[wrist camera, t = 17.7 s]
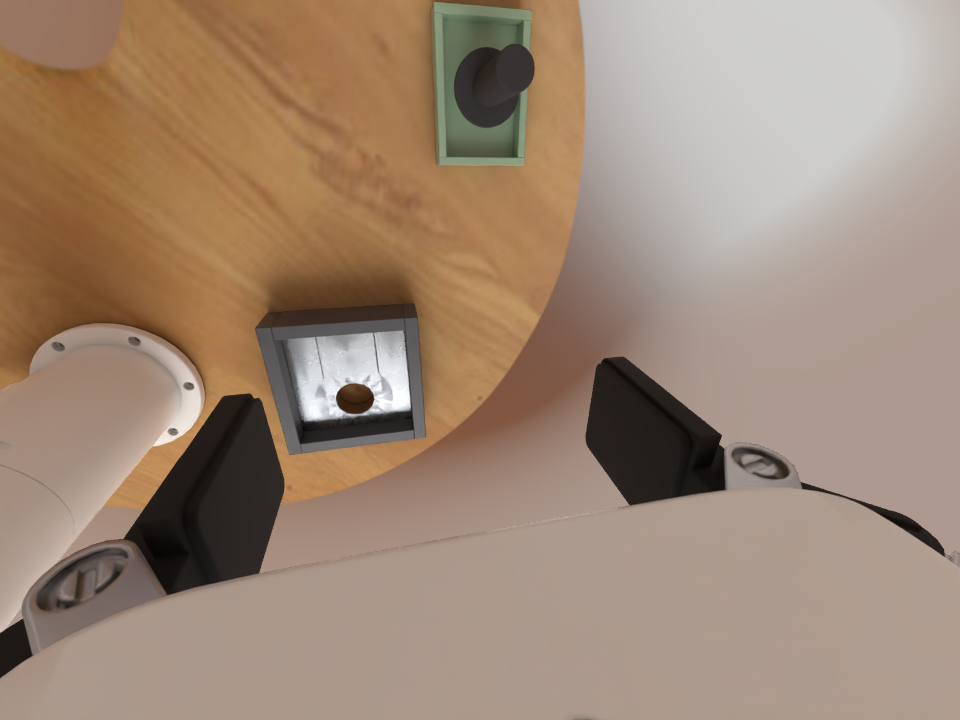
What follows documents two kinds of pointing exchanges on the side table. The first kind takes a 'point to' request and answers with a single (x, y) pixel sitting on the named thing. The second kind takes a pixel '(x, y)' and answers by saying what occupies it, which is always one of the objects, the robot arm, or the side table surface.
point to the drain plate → (349, 378)
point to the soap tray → (451, 43)
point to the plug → (492, 83)
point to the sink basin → (334, 324)
